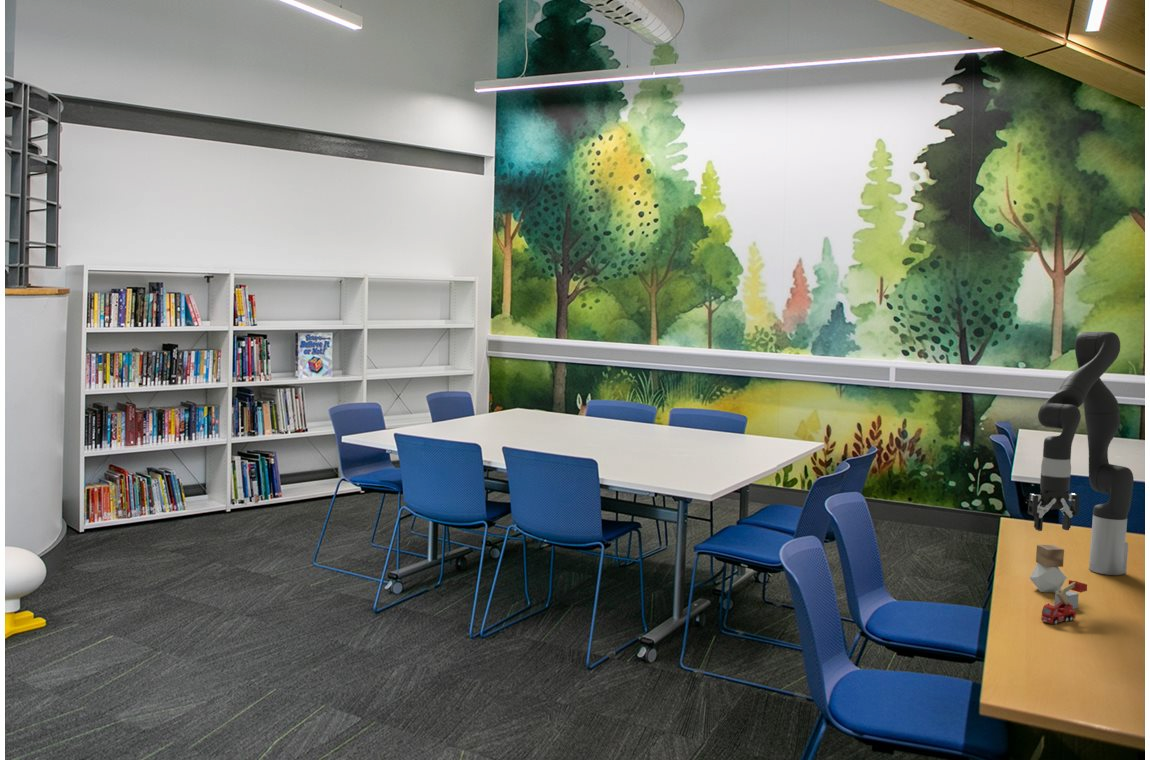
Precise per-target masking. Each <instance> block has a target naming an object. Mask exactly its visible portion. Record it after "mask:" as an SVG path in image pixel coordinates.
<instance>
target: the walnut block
mask: <svg viewBox="0 0 1150 760" xmlns="http://www.w3.org/2000/svg"><path fill="white" fill-rule="evenodd" d="M1064 557H1065V549H1064V548H1062V547H1059V546H1058V545H1055V544H1037V545H1036V555H1035V563H1036V564H1037V563H1039V564H1041V565H1044V566H1046V567H1058V568H1062V567H1063V568H1064V559H1065V558H1064Z"/></svg>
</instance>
